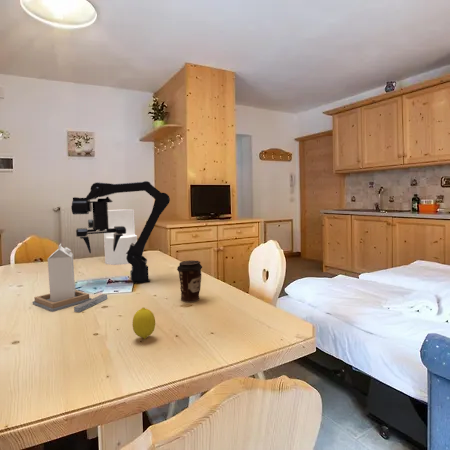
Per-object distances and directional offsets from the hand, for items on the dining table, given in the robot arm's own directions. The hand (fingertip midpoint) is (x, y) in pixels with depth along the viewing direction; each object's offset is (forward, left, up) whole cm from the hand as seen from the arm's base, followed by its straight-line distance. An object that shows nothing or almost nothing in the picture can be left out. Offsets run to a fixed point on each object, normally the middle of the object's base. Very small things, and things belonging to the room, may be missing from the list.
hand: (102, 252), depth 138 cm
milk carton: (+15, +19, -12) cm, 27 cm away
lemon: (-3, +62, -13) cm, 63 cm away
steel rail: (+7, +27, -13) cm, 31 cm away
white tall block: (-14, -45, -13) cm, 49 cm away
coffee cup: (-24, +38, -13) cm, 47 cm away
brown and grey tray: (+15, +19, -13) cm, 28 cm away
